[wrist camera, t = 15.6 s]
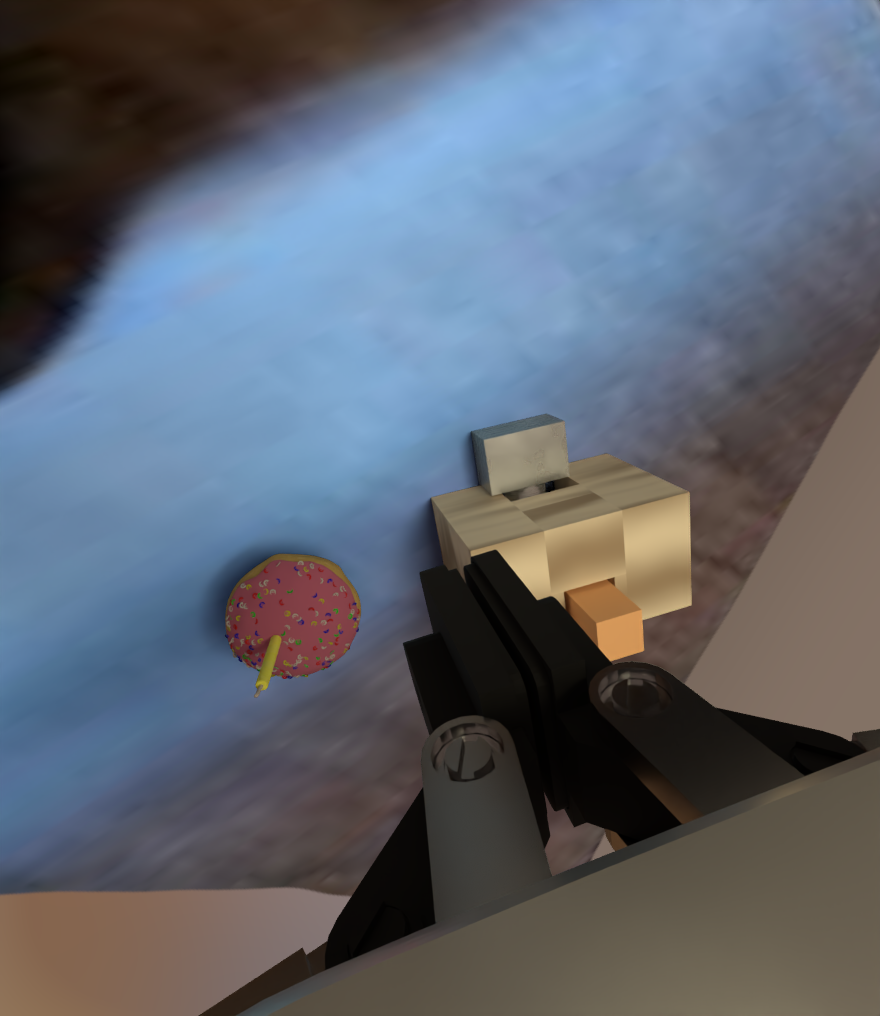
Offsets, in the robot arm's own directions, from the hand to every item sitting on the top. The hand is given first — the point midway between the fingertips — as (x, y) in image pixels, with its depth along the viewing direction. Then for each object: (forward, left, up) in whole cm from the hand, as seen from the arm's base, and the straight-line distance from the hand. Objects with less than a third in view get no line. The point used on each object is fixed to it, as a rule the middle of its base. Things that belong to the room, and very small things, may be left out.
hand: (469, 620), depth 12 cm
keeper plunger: (+14, +11, -22) cm, 29 cm away
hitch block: (+12, +11, -29) cm, 33 cm away
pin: (+14, +11, -29) cm, 34 cm away
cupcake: (+12, -7, -29) cm, 32 cm away
